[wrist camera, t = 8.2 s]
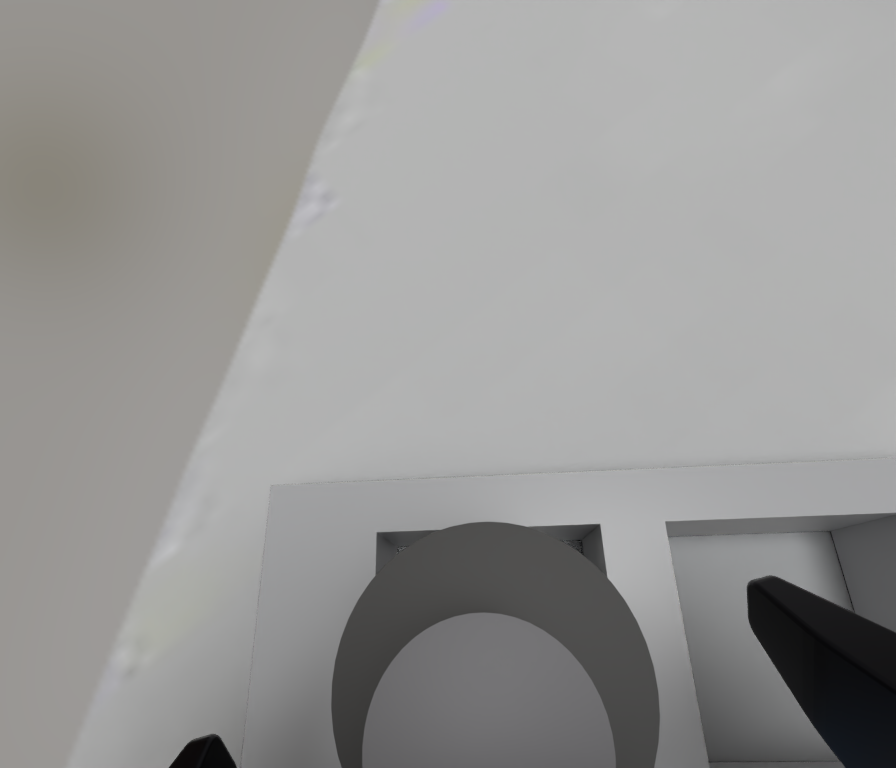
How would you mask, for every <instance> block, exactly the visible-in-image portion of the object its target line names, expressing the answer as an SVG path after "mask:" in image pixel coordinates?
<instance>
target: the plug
mask: <svg viewBox="0 0 896 768" xmlns="http://www.w3.org/2000/svg"><path fill="white" fill-rule="evenodd" d="M331 712H332V724H333V734H334V739H335V744H336V749H337V754H338V758H339V761H340V764H341V767H342V768H654V766H655V761H656V755H657V749H658V743H659V727H660V709H659V694H658V687H657V681H656V676H655V670H654V666H653V662H652V659H651V656H650V653H649V649H648V646H647V643H646V641H645V638H644V636H643V634H642V631H641V629H640V627H639V624H638V622H637V620H636V618H635V617H634V615H633V613H632V612H631V610H630V608H629V606H628V605H627V603H626V601H625V600H624V598H623V597H622V596H621V594H620V593H619V592H618V590H617V589H616V588H615V586H614V585H613V584H612V582H611V581H610V580H609V579H608V578H607V577H606V576H605V575H604V574H603V573H602V572H601V571H600V570H599V569H598V567H597V566H595V565H594V564H593V563H592V562H591V561H589V560H588V559H587V558H586V557H585V556H583V555H582V554H581V553H580V552H578V551H577V550H575V549H574V548H572V547H570V546H569V545H567V544H566V543H564V542H563V541H561V540H559V539H557V538H554V537H552V536H550V535H548V534H546V533H544V532H541V531H538V530H535V529H532V528H529V527H526V526H521V525H516V524H511V523H503V522H474V523H466V524H461V525H456V526H451V527H448V528H445V529H442V530H440V531H437V532H434V533H431V534H429V535H427V536H425V537H424V538H422V539H420V540H418V541H416V542H414V543H413V544H411V545H410V546H408V547H407V548H405V549H404V550H402V551H401V552H399V553H398V554H397V555H396V556H395V557H394V558H393V559H391V560H390V561H389V562H388V563H387V564H386V565H385V566H384V567H383V568H382V569H381V570H380V571H379V572H378V574H377V575H376V576H375V577H374V578H373V579H372V580H371V582H370V583H369V584H368V586H367V587H366V589H365V590H364V592H363V593H362V595H361V596H360V598H359V599H358V601H357V603H356V605H355V607H354V609H353V611H352V613H351V614H350V616H349V619H348V621H347V624H346V626H345V629H344V632H343V634H342V637H341V640H340V644H339V648H338V651H337V655H336V659H335V665H334V672H333V679H332V696H331Z"/></svg>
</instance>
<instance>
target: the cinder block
mask: <svg viewBox="0 0 896 768" xmlns="http://www.w3.org/2000/svg"><path fill="white" fill-rule="evenodd" d="M474 522H503V523H511V524H516V525H521V526H526V527H529V528H532V529H535V530H538V531H541V532H544V533H546V534H548V535H550V536H552V537H554V538H557V539H559V540H561V541H566V540H582V545H583V554H584V556H585V557H586V558H587V559H588V560H589V561H591V562H592V563H593V564H594V565H595V566H597V567H598V569H599V570H600V571H601V572H602V573H603V574H604V575H605V576H606V577H607V578H608V579H609V580H610V581H611V582H612V584H613V585H614V586H615V588H616V589H617V590H618V592H619V593H620V594H621V596H622V597H623V598H624V600H625V601H626V603H627V605H628V606H629V608H630V610H631V612H632V613H633V615H634V617H635V618H636V620H637V622H638V624H639V627H640V629H641V631H642V634H643V636H644V638H645V641H646V643H647V646H648V649H649V653H650V656H651V659H652V662H653V666H654V670H655V676H656V681H657V687H658V694H659V709H660V727H659V743H658V749H657V755H656V761H655V766H654V768H845V767H844V765H843V764H842V763H841V761H820V762H709V761H708V755H707V750H706V744H705V739H704V733H703V728H702V722H701V717H700V711H699V706H698V700H697V695H696V689H695V684H694V678H693V673H692V667H691V662H690V656H689V651H688V645H687V640H686V634H685V629H684V623H683V618H682V612H681V607H680V601H679V596H678V590H677V585H676V579H675V574H674V568H673V563H672V557H671V552H670V546H669V541H668V537H678V536H706V535H734V534H762V533H790V532H818V531H831V534H832V537H833V541H834V544H835V547H836V551H837V554H838V557H839V561H840V564H841V567H842V571H843V574H844V577H845V581H846V584H847V587H848V591H849V594H850V597H851V601H852V604H853V607H854V611H855V613H856V614H858V615H860V616H862V617H865V618H867V619H869V620H871V621H873V622H875V623H877V624H880V625H882V626H884V627H886V628H888V629H890V630H892V631H895V632H896V458H875V459H853V460H830V461H807V462H784V463H762V464H739V465H716V466H693V467H671V468H648V469H625V470H602V471H580V472H557V473H534V474H511V475H488V476H466V477H443V478H420V479H397V480H375V481H352V482H329V483H306V484H284V485H271V488H270V497H269V506H268V516H267V525H266V534H265V543H264V553H263V562H262V571H261V581H260V590H259V599H258V609H257V618H256V627H255V636H254V646H253V655H252V664H251V674H250V683H249V692H248V702H247V711H246V720H245V729H244V739H243V748H242V757H241V767H240V768H342V767H341V764H340V761H339V758H338V754H337V749H336V744H335V739H334V734H333V724H332V712H331V696H332V679H333V672H334V665H335V659H336V655H337V651H338V648H339V644H340V640H341V637H342V634H343V632H344V629H345V626H346V624H347V621H348V619H349V616H350V614H351V613H352V611H353V609H354V607H355V605H356V603H357V601H358V599H359V598H360V596H361V595H362V593H363V592H364V590H365V589H366V587H367V586H368V584H369V583H370V582H371V580H372V579H373V578H374V577H375V576H376V575H377V574H378V572H379V571H380V570H381V569H382V568H383V567H384V566H385V565H386V564H387V563H388V562H389V561H390V560H391V559H393V558H394V557H395V556H396V555H397V546H410V545H411V544H413V543H414V542H416V541H418V540H420V539H422V538H424V537H425V536H427V535H429V534H431V533H434V532H437V531H440V530H442V529H445V528H448V527H451V526H456V525H461V524H466V523H474Z"/></svg>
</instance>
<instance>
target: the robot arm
mask: <svg viewBox="0 0 896 768" xmlns="http://www.w3.org/2000/svg"><path fill="white" fill-rule="evenodd" d="M747 603H748V619H749V623H750V626H751V628H752V630H753V632H754V634H755V635H756V637H757V639H758V640H759V642H760V643H761V645H762V646H763V648H764V650H765V651H766V653H767V654H768V656H769V657H770V659H771V661H772V662H773V664H774V665H775V667H776V668H777V670H778V672H779V673H780V675H781V676H782V678H783V679H784V681H785V683H786V684H787V686H788V687H789V689H790V690H791V692H792V694H793V695H794V697H795V698H796V700H797V701H798V703H799V705H800V706H801V708H802V709H803V711H804V712H805V714H806V715H807V717H808V718H809V720H810V721H811V723H812V724H813V726H814V727H815V728H816V730H817V731H818V733H819V734H820V735H821V737H822V738H823V739H824V741H825V742H826V743H827V745H828V746H829V747H830V748H831V750H832V751H833V752H834V754H835V755H836V756H837V758H838V759H839V760H840V761H841V763H842V764H843V765H844V767H845V768H896V632H895V631H892V630H890V629H888V628H886V627H884V626H882V625H880V624H877V623H875V622H873V621H871V620H869V619H867V618H865V617H862V616H860V615H858V614H856V613H854V612H852V611H849V610H847V609H845V608H843V607H841V606H839V605H837V604H834V603H832V602H830V601H828V600H826V599H824V598H821V597H819V596H817V595H815V594H813V593H811V592H809V591H806V590H804V589H802V588H800V587H798V586H796V585H794V584H791V583H789V582H787V581H785V580H783V579H781V578H778V577H776V576H765V577H762V578H758V579H755V580H751V581H750V582H749V583H748V585H747ZM169 768H237V767H236V764H235V762H234V760H233V759H232V757H231V755H230V754H229V752H228V750H227V748H226V747H225V745H224V743H223V741H222V740H221V738H220V737H219V736H218V735H216V734H210V735H207V736H203V737H200V738H196V739H194V740H192V741H190V742H189V743H188V744H187V745H186V746H185V747H184V749H183V750H182V751H181V752H180V754H179V755H178V756H177V758H176V759H175V760H174V762H173V763H172V764H171V766H170V767H169Z"/></svg>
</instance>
